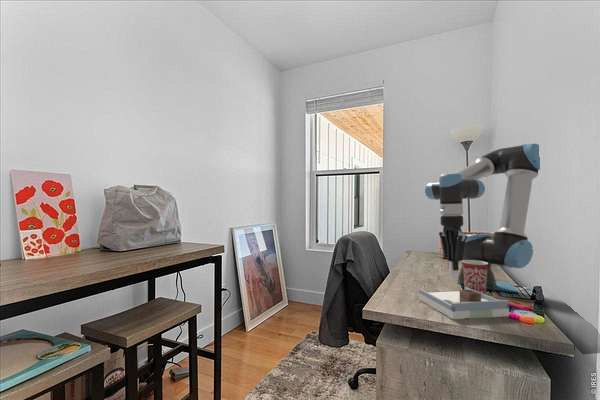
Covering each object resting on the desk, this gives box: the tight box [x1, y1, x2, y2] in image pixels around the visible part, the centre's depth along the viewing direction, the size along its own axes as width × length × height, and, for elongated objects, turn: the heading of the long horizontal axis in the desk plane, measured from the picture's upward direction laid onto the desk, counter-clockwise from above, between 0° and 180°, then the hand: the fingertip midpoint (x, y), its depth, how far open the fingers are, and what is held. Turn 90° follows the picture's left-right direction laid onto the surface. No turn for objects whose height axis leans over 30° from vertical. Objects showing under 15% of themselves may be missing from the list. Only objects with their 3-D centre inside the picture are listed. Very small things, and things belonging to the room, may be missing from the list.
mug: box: [461, 260, 488, 295], centre depth 120 cm, size 13×9×14 cm
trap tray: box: [418, 287, 510, 320], centre depth 104 cm, size 20×20×5 cm
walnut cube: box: [459, 289, 481, 302], centre depth 99 cm, size 4×4×4 cm
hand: (453, 278), depth 109 cm, fingers closed
